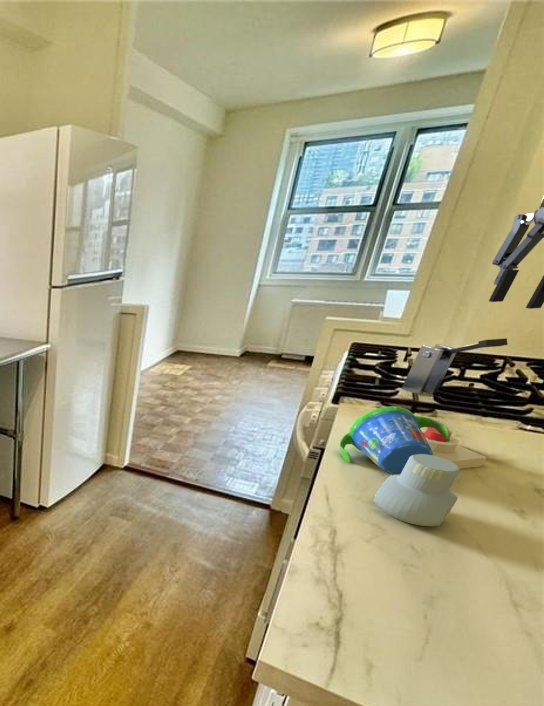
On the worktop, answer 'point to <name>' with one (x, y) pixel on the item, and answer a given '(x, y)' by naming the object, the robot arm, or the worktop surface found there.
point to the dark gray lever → (475, 346)
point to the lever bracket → (428, 370)
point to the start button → (434, 435)
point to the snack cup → (390, 437)
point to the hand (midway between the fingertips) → (513, 304)
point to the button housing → (455, 453)
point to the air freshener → (420, 491)
